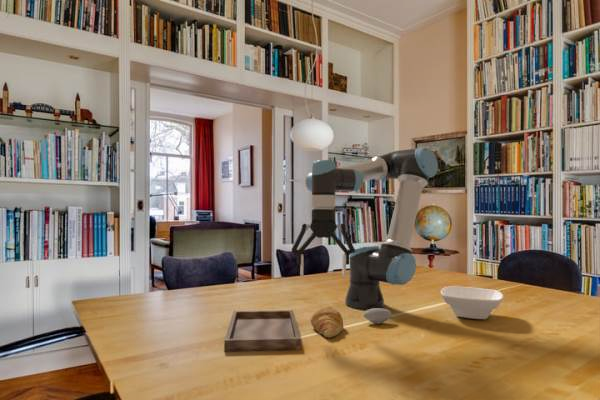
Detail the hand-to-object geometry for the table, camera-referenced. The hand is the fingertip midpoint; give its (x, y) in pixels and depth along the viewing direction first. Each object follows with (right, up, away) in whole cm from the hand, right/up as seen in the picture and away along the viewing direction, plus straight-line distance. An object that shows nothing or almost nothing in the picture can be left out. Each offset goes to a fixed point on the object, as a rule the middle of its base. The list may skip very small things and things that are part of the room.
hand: (323, 275), depth 126 cm
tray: (-19, -17, -6) cm, 26 cm away
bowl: (+54, -18, +15) cm, 59 cm away
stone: (+19, -17, +6) cm, 26 cm away
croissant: (+1, -17, -1) cm, 17 cm away
